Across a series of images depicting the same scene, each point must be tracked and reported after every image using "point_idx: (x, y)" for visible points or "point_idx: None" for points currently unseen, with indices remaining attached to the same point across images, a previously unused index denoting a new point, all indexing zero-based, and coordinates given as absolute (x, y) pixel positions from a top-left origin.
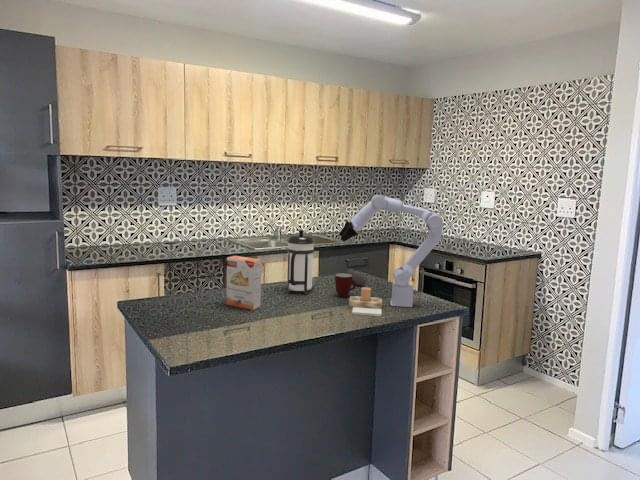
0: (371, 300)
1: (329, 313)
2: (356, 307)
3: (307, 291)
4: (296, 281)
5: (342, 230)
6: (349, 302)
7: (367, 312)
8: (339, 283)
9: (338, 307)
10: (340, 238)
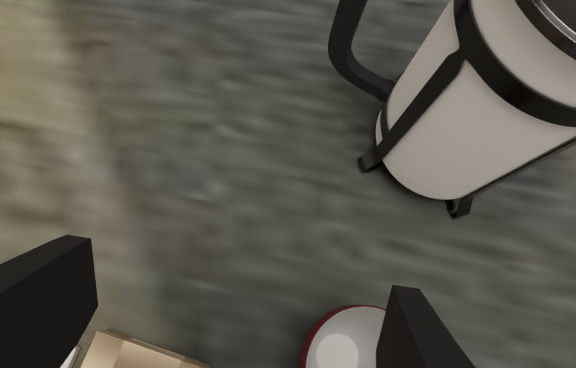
0: None
1: (43, 211)
2: (66, 366)
3: (369, 167)
4: (384, 90)
5: (413, 358)
6: (97, 334)
7: None
8: (313, 325)
9: (130, 278)
10: (86, 238)
